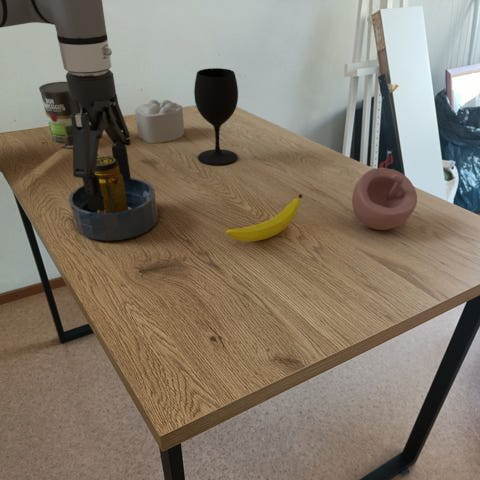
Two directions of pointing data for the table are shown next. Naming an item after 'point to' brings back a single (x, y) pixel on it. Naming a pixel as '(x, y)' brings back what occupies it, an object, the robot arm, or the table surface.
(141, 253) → the table surface
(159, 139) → the lumpy-topped squat cylinder
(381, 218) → the mortar and pestle
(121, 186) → the condiment
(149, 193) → the bowl
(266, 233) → the banana
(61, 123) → the coffee can
